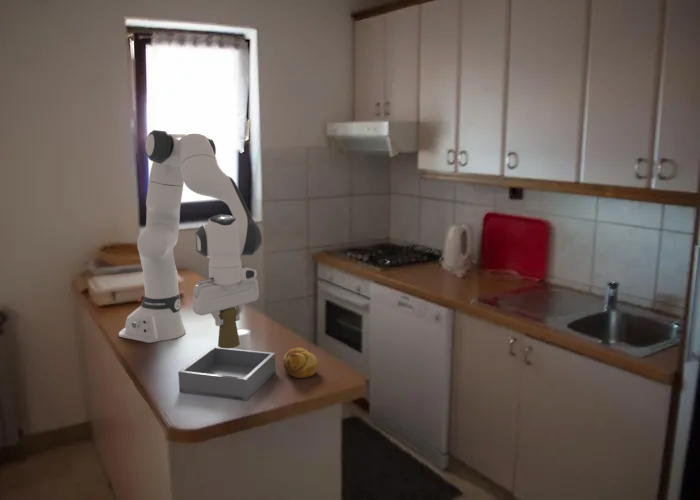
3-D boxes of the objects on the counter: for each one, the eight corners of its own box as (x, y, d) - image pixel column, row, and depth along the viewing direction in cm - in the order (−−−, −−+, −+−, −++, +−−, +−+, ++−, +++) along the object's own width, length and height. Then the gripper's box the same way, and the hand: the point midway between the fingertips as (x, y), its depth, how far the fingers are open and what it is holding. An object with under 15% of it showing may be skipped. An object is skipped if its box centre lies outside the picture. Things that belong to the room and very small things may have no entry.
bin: (179, 392, 171) (178, 371, 169) (214, 365, 190) (213, 346, 188) (246, 401, 165) (246, 379, 164) (275, 372, 184) (275, 353, 183)
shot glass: (241, 358, 195) (240, 336, 194) (224, 353, 199) (224, 332, 198) (255, 351, 201) (254, 330, 200) (239, 347, 205) (238, 326, 203)
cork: (234, 349, 172) (232, 310, 170) (214, 347, 173) (212, 309, 171) (243, 341, 177) (241, 304, 175) (223, 339, 179) (222, 303, 177)
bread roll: (278, 366, 189) (277, 341, 187) (309, 362, 192) (308, 337, 191) (290, 382, 177) (289, 356, 176) (322, 377, 181) (322, 351, 179)
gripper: (200, 284, 162) (203, 334, 165) (261, 269, 176) (263, 316, 179) (186, 280, 166) (189, 329, 169) (247, 266, 181) (249, 312, 183)
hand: (227, 322), depth 174 cm, fingers closed on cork, 4 cm apart
